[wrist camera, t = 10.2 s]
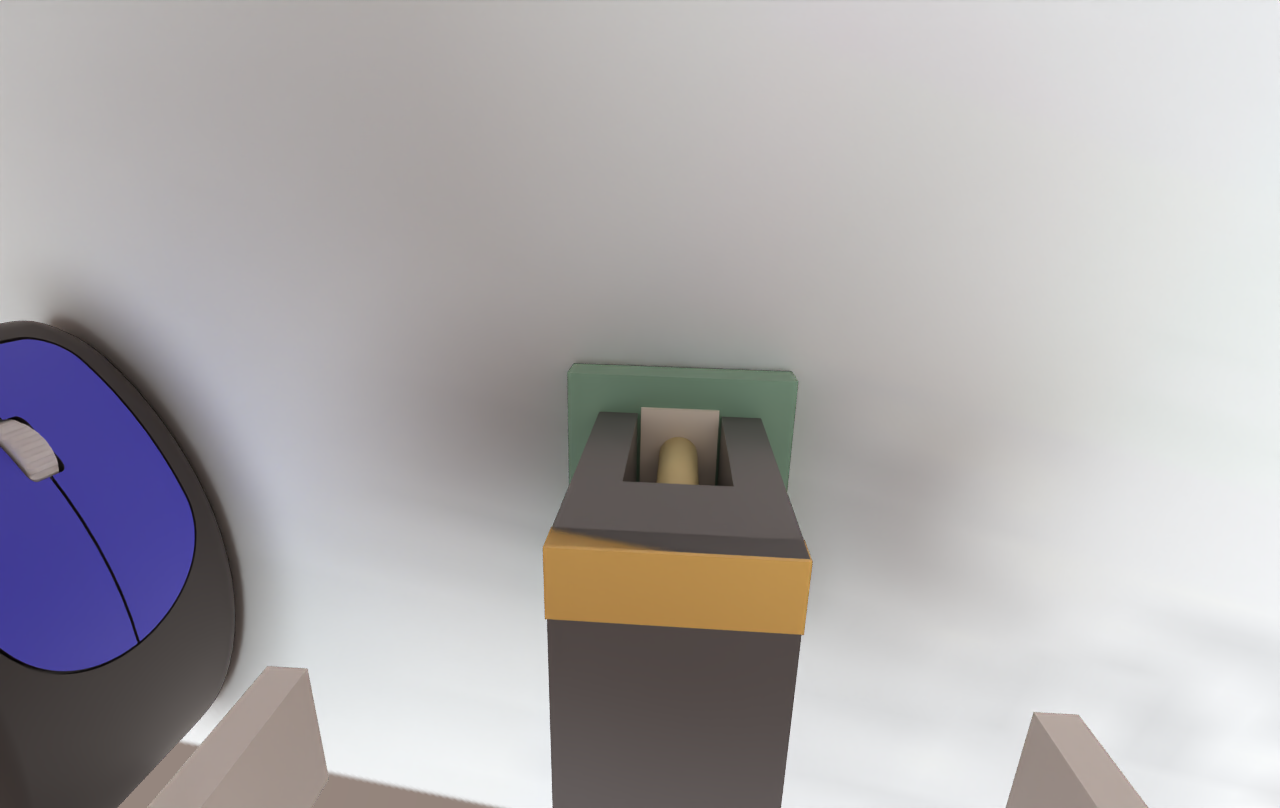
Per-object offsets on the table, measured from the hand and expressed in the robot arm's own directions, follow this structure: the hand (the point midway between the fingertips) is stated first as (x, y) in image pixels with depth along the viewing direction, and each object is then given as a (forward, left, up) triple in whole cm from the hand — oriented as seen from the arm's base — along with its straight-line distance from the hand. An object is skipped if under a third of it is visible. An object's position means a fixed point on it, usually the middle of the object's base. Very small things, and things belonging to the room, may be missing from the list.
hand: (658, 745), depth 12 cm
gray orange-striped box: (+1, 0, -9) cm, 9 cm away
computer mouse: (+2, -20, -11) cm, 23 cm away
